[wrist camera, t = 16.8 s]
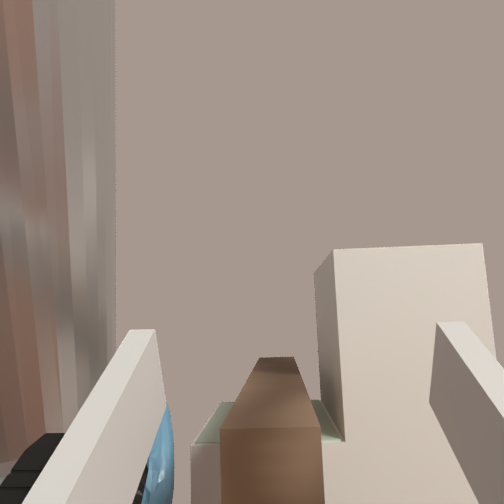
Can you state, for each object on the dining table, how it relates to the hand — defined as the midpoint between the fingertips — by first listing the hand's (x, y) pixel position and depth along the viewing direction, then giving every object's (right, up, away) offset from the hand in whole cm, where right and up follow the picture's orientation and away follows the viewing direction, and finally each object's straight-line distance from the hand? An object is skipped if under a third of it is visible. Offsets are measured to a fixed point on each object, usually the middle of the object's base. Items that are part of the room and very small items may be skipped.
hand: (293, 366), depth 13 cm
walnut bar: (0, -7, +13) cm, 14 cm away
